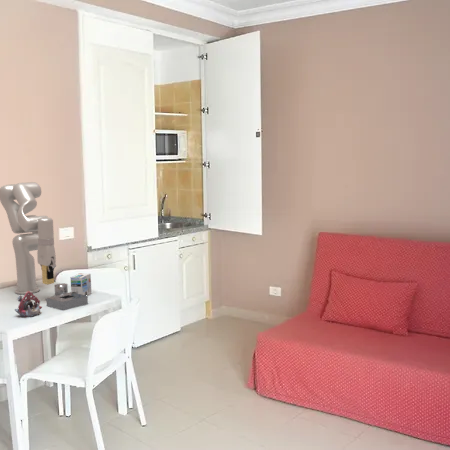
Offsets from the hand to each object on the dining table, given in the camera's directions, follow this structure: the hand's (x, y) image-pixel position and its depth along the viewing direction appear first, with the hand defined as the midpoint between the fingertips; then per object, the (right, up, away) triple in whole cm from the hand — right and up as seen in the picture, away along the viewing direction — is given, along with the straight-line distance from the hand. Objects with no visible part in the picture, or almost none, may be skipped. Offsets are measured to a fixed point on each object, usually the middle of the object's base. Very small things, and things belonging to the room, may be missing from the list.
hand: (48, 277), depth 280 cm
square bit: (0, -3, 0) cm, 3 cm away
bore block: (+12, -12, -9) cm, 20 cm away
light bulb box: (+14, -10, +10) cm, 20 cm away
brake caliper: (-1, -15, -25) cm, 29 cm away
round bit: (+4, -11, +10) cm, 15 cm away
